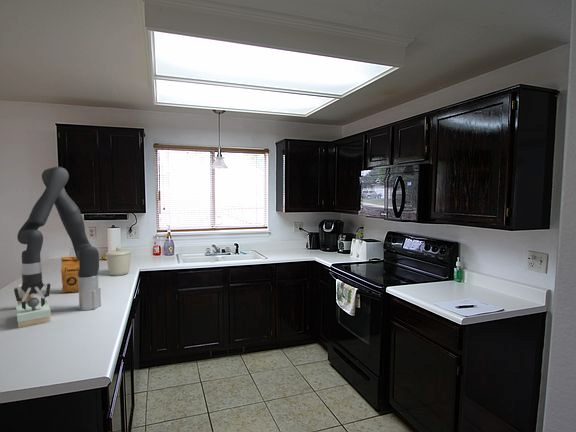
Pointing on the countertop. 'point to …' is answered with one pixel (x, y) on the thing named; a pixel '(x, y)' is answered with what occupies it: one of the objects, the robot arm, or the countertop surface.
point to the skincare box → (22, 296)
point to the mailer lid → (33, 310)
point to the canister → (118, 261)
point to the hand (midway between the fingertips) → (33, 307)
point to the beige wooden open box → (33, 322)
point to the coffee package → (70, 274)
